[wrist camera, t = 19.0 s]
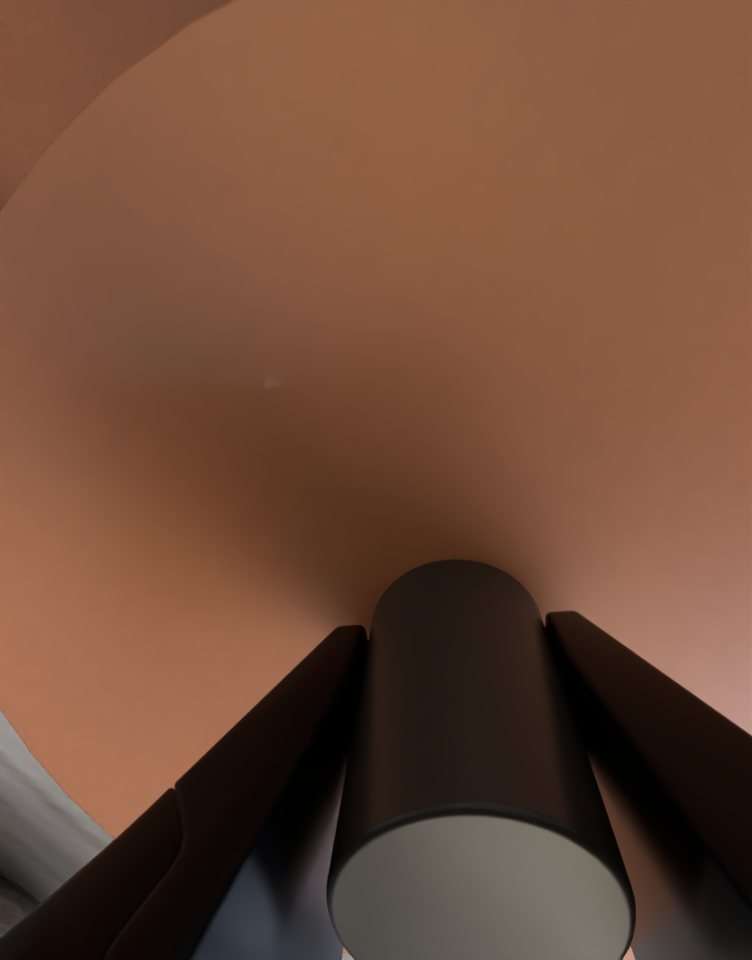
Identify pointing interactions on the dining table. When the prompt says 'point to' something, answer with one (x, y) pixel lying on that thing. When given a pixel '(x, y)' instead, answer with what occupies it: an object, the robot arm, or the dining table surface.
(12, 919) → the cooking pot
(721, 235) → the lid
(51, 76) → the faceted terracotta bowl
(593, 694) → the robot arm
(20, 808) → the dining table surface
